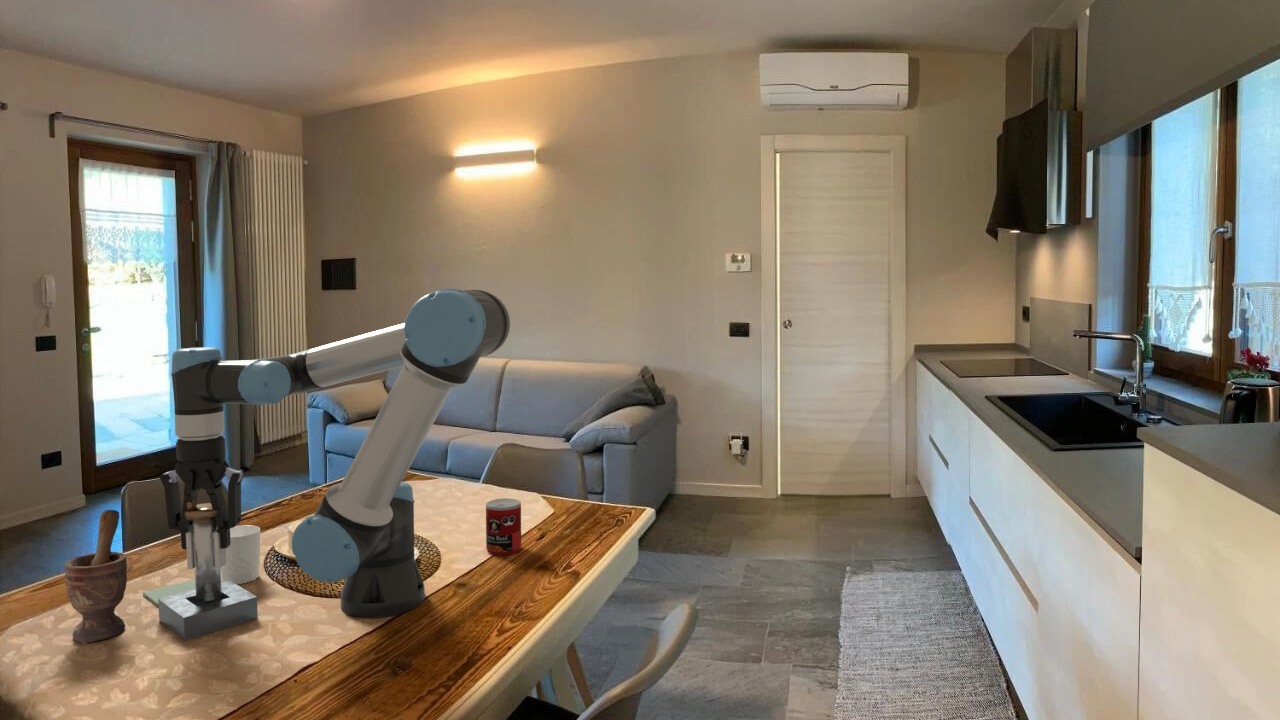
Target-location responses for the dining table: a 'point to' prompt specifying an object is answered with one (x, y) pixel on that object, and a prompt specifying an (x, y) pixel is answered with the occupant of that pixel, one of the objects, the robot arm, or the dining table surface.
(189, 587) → the mat
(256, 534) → the white cup
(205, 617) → the block
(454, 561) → the dining table surface
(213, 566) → the steel peg
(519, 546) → the canned food
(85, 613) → the mortar and pestle
